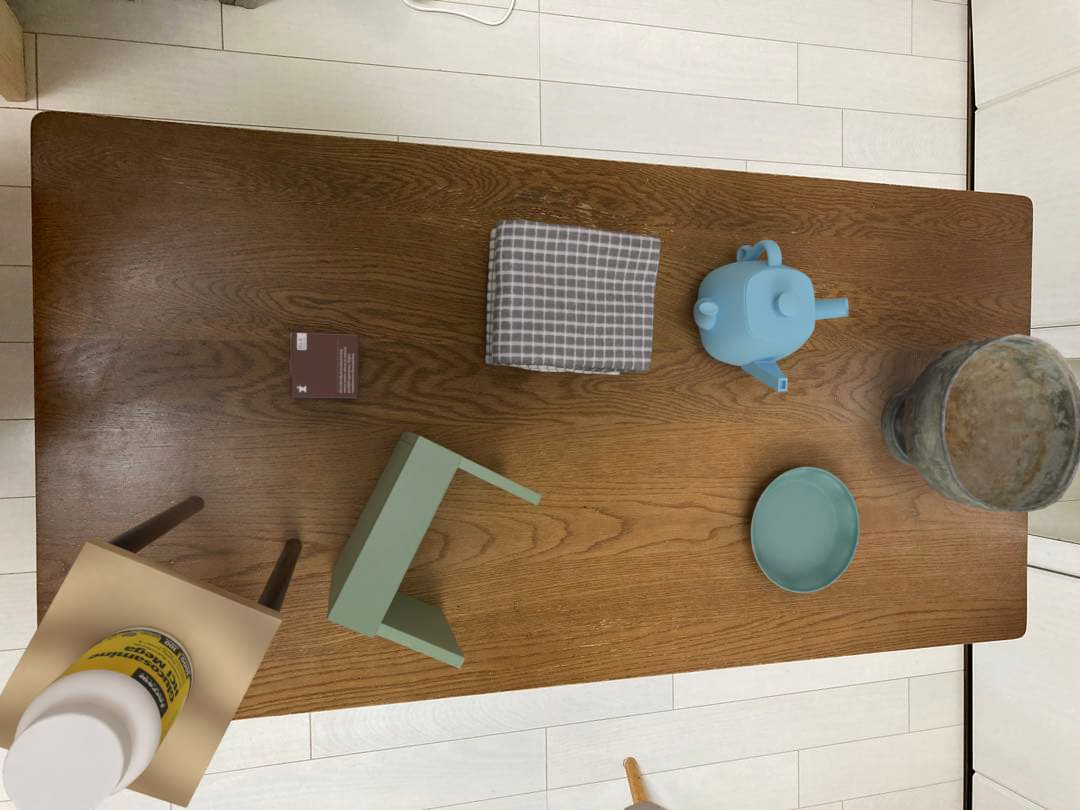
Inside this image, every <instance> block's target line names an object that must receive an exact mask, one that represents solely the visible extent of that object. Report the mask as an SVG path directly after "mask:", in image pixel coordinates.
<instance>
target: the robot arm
mask: <svg viewBox="0 0 1080 810" xmlns="http://www.w3.org/2000/svg"><path fill="white" fill-rule="evenodd" d="M623 810H669V809H668V808H666V807H664V806H662V805H660V804H658V803H655V802H652V801H650V800H642V801H640V802H636V803H634V804H631V805H628V806H626V807H625V808H624V809H623Z"/></svg>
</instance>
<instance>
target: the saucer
mask: <svg viewBox="0 0 1080 810" xmlns="http://www.w3.org/2000/svg"><path fill="white" fill-rule="evenodd" d="M860 529H861V521H860V514H859V508H858V506H857V503H856V500H855V497H854V496H853V494H852V493H851V491H850V489H849V488H848V486H847V485H846V484H845V483H844V482H843V480H842V479H840V478H839V477H838V476H836V475H835V474H834V473H832V472H830V471H829V470H827V469H823V468H820V467H815V466H799V467H794V468H791V469H789V470H787V471H784V472H782V473H781V474H780V475H779V476H777V477H776V478H775V479H773V480H772V481H771V482H770V483H769V484H768V485H767V486H766V488H765V489H764V490H763V492H762V493H761V494H760V496H759V498H758V500H757V502H756V503H755V506H754V508H753V513H752V516H751V522H750V540H751V541H750V542H751V548H752V553H753V556H754V558H755V561H756V563H757V565H758V567H759V569H760V570H761V571H762V573H763V574H764V576H766V578H767V579H768V580H769V581H770V582H771V583H772V584H774V585H775V586H777V587H779V588H781V589H783V590H785V591H788V592H791V593H795V594H809V593H816V592H818V591H819V592H820V591H821V590H823V589H825V588H828V587H829V586H831V585H832V584H834V583H835V582H836V581H837V580H839V578H841V577H842V575H843V574H844V573H845V572H846V571H847V570H848V568H849V566H850V564H851V563H852V562H853V559H854V557H855V555H856V552H857V548H858V545H859V541H860V533H861V530H860Z"/></svg>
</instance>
